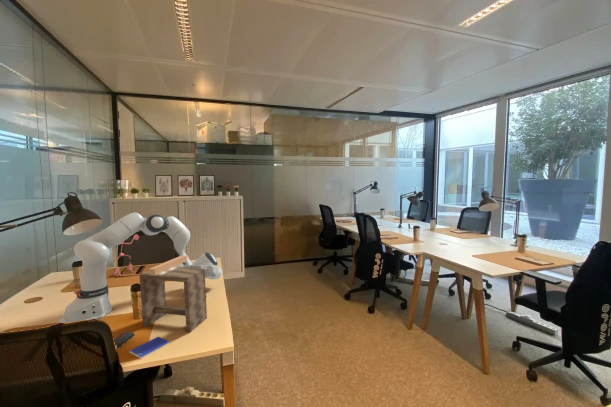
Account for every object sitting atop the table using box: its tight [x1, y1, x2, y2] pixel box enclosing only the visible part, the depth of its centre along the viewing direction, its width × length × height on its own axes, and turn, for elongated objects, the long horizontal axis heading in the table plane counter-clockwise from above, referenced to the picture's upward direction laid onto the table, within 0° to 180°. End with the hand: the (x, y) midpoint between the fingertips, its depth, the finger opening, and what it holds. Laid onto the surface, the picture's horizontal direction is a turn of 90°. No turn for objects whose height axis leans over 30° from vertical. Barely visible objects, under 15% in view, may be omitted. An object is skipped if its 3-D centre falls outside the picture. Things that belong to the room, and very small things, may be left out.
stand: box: [139, 266, 208, 333], centre depth 145 cm, size 14×26×26 cm, turn 77°
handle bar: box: [148, 254, 188, 276], centre depth 149 cm, size 24×3×3 cm, turn 167°
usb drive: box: [113, 331, 135, 350], centre depth 129 cm, size 5×12×3 cm, turn 176°
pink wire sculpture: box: [113, 233, 140, 277], centre depth 221 cm, size 15×26×35 cm, turn 152°
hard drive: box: [129, 336, 170, 360], centre depth 125 cm, size 2×8×12 cm
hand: (192, 267), depth 168 cm, fingers open, 8 cm apart
